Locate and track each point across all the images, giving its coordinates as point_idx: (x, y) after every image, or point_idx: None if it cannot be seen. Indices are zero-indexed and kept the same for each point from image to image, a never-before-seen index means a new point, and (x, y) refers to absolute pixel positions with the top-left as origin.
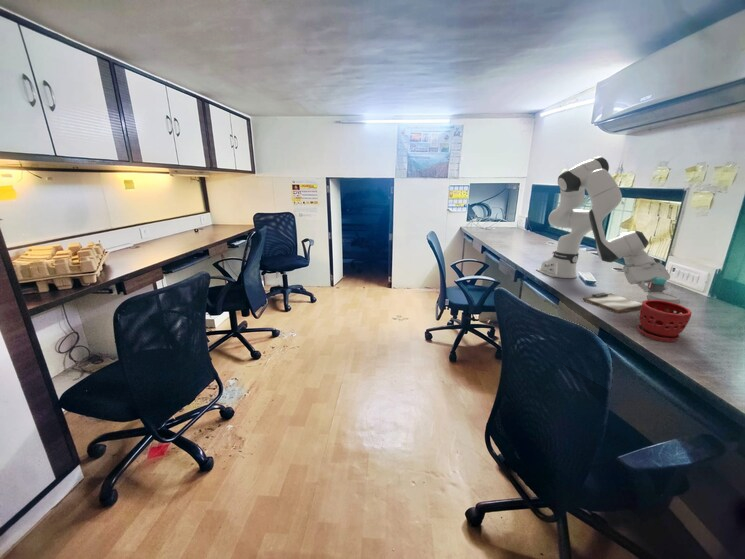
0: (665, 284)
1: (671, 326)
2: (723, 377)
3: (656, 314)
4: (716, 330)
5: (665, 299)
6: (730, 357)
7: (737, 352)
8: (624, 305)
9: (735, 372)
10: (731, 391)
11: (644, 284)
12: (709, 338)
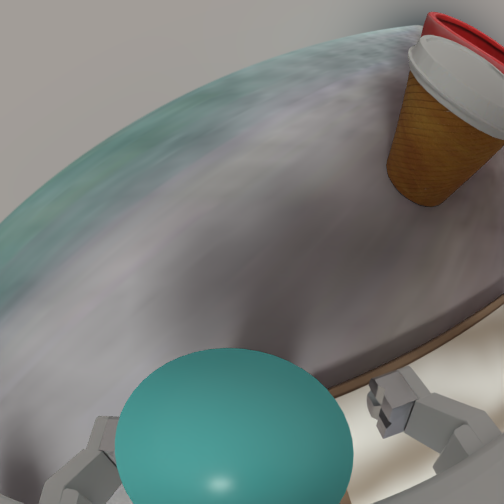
0: (79, 459)
1: None
2: (403, 35)
3: (501, 56)
4: (212, 118)
5: (477, 55)
6: (341, 44)
7: (304, 48)
8: (464, 365)
9: (375, 32)
10: (412, 28)
11: (460, 412)
12: (305, 85)
